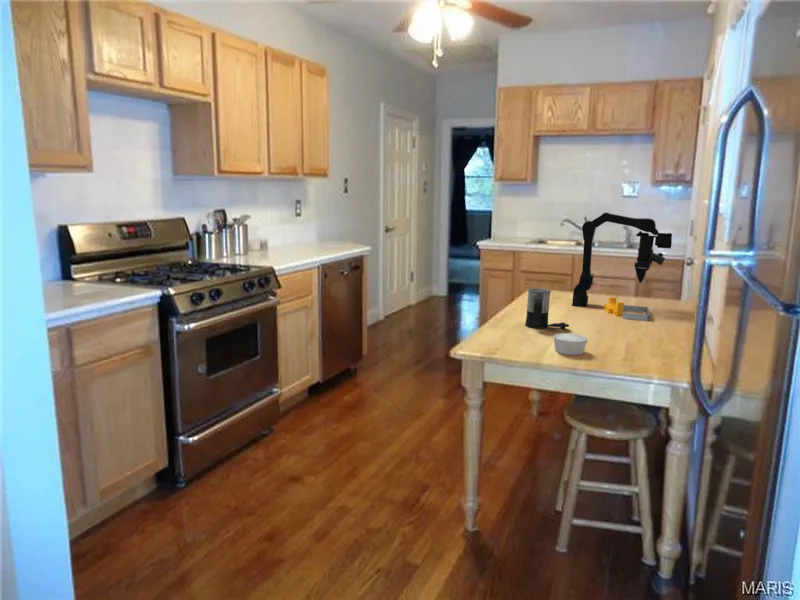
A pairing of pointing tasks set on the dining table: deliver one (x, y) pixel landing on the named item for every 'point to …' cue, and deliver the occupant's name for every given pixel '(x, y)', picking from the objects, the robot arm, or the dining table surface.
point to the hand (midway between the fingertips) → (641, 281)
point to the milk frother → (539, 309)
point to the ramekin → (569, 343)
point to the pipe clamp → (614, 307)
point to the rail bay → (636, 316)
